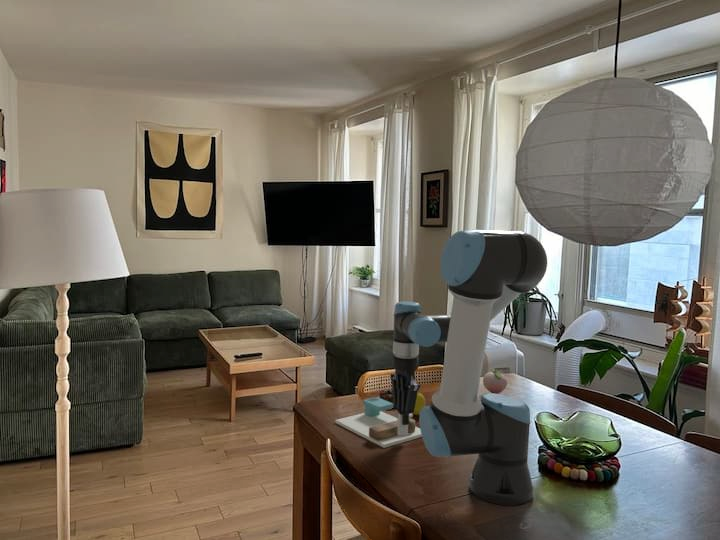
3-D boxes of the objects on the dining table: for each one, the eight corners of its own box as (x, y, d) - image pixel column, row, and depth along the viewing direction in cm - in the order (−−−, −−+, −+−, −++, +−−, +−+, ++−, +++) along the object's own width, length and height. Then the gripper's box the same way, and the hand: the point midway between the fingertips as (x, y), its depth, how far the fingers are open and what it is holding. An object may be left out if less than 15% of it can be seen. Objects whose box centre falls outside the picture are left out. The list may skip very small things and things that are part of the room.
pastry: (374, 401, 208) (375, 385, 207) (403, 397, 213) (403, 381, 213) (390, 410, 198) (391, 394, 197) (419, 406, 204) (420, 389, 203)
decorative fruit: (478, 391, 222) (479, 366, 221) (497, 390, 224) (499, 365, 223) (489, 399, 213) (490, 372, 212) (509, 398, 215) (511, 372, 214)
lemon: (424, 412, 196) (425, 389, 195) (424, 418, 191) (425, 394, 190) (408, 411, 197) (409, 388, 196) (408, 417, 191) (409, 393, 190)
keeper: (392, 421, 186) (393, 403, 186) (378, 425, 183) (379, 407, 182) (376, 414, 193) (376, 396, 192) (362, 417, 189) (362, 399, 189)
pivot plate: (427, 435, 176) (428, 416, 175) (384, 447, 165) (384, 427, 165) (377, 412, 195) (378, 395, 194) (335, 422, 184) (335, 404, 183)
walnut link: (406, 424, 181) (406, 416, 181) (418, 429, 176) (419, 421, 176) (367, 434, 171) (367, 426, 171) (379, 441, 167) (379, 432, 167)
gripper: (429, 359, 163) (425, 440, 165) (405, 349, 174) (402, 424, 177) (406, 362, 159) (402, 444, 162) (383, 351, 171) (380, 428, 173)
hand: (402, 434), depth 169 cm, fingers closed
